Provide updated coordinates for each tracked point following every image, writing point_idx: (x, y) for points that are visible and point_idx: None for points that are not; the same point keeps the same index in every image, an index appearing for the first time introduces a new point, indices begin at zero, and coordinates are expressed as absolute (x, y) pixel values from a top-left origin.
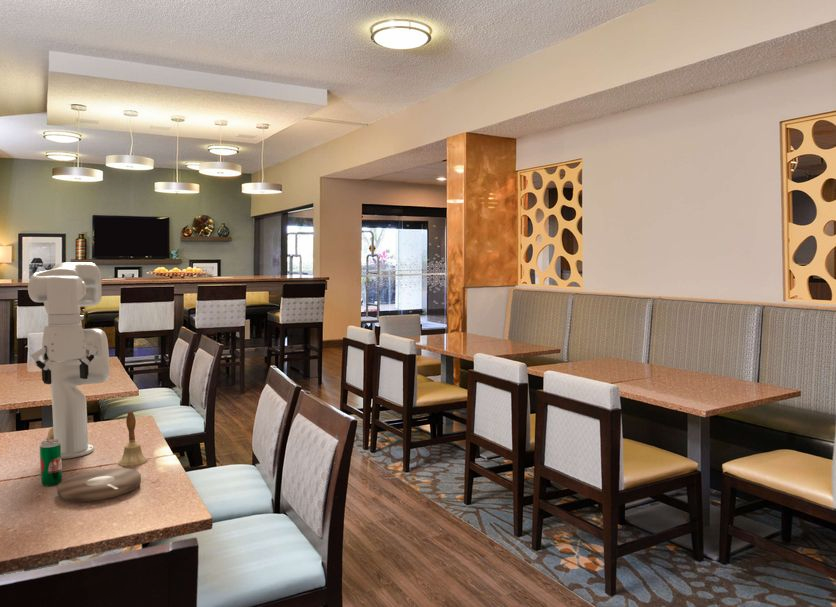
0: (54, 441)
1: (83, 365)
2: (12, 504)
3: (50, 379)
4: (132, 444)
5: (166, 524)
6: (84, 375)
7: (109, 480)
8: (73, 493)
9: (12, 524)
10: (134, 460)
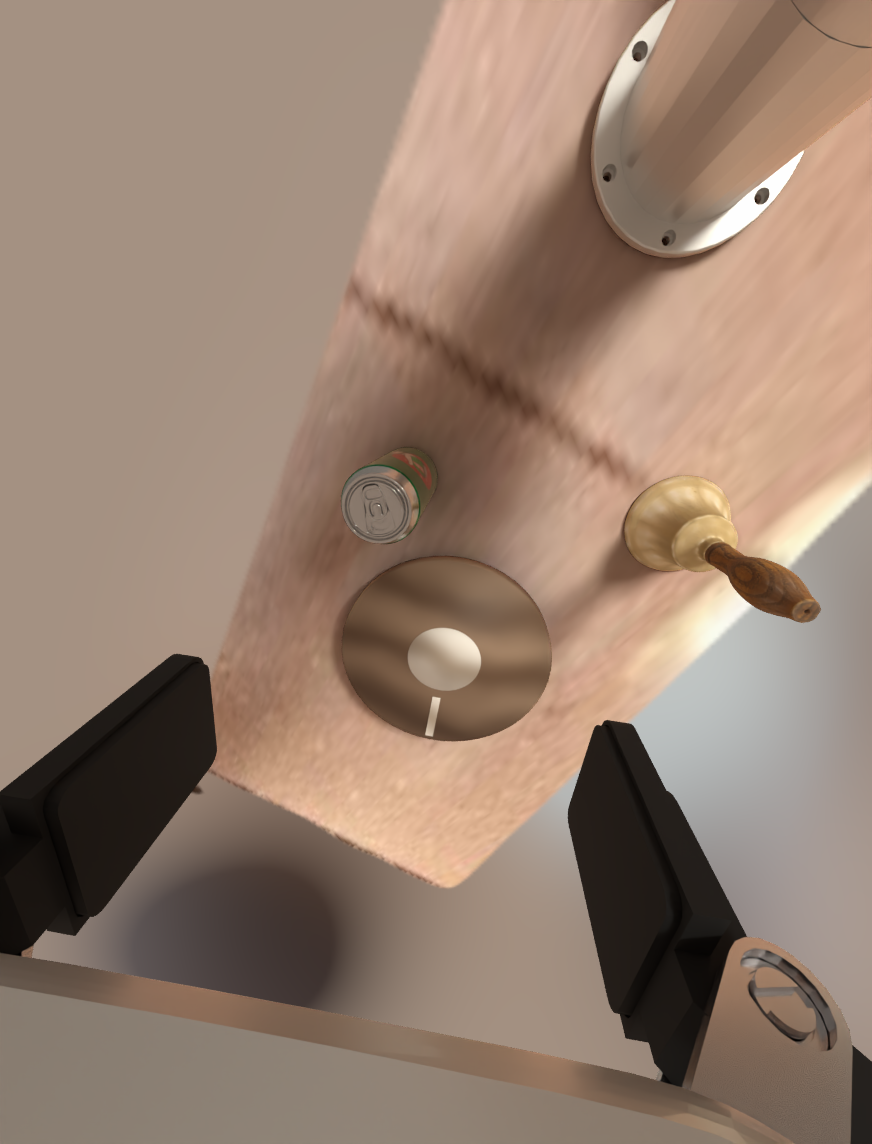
0: (391, 519)
1: (645, 988)
2: (272, 535)
3: (175, 799)
4: (695, 561)
5: (401, 858)
6: (577, 845)
7: (456, 679)
8: (356, 673)
9: (232, 644)
10: (656, 561)
